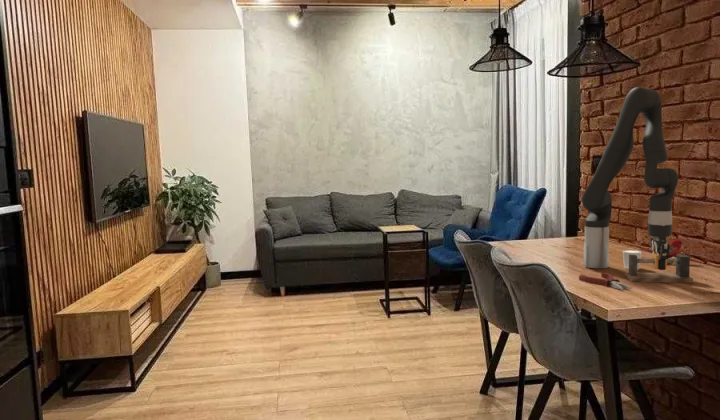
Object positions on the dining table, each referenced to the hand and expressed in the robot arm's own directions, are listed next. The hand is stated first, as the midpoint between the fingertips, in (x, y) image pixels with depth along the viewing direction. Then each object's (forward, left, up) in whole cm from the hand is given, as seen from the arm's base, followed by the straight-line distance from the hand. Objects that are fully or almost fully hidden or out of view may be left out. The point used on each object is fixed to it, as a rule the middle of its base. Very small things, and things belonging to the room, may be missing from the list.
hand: (659, 267), depth 181 cm
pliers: (-21, -8, -5) cm, 23 cm away
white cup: (-4, +19, -5) cm, 20 cm away
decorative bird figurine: (+10, +31, -5) cm, 33 cm away
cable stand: (0, 0, -4) cm, 4 cm away
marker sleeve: (0, 0, 0) cm, 0 cm away
